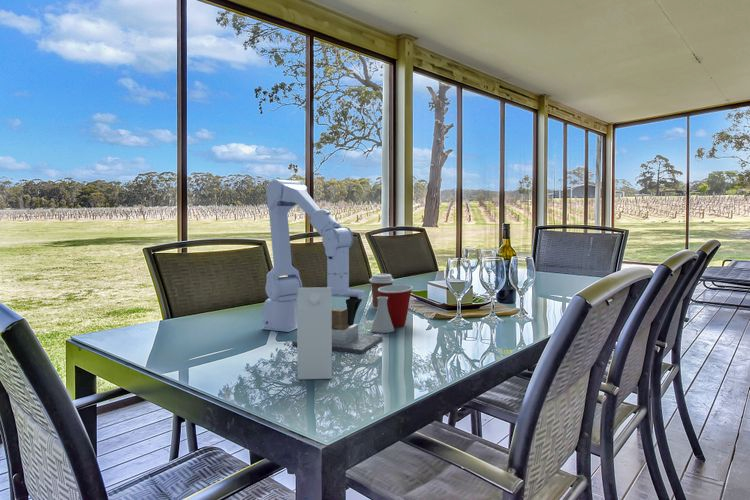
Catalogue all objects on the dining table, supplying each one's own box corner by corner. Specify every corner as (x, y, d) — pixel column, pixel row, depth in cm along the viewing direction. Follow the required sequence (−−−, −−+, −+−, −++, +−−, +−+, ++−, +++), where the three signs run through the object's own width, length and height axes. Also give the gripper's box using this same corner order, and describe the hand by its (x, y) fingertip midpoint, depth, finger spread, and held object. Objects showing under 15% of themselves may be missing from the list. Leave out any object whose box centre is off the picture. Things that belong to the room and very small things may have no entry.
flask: (392, 334, 144) (392, 300, 143) (367, 333, 145) (367, 299, 144) (396, 328, 151) (396, 295, 150) (372, 327, 152) (372, 294, 151)
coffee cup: (370, 305, 187) (370, 273, 186) (394, 305, 186) (395, 273, 185) (367, 309, 178) (367, 276, 177) (393, 310, 177) (393, 276, 176)
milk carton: (299, 369, 112) (299, 285, 110) (331, 368, 113) (331, 284, 111) (297, 380, 105) (296, 290, 103) (331, 379, 106) (331, 290, 104)
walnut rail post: (327, 340, 133) (327, 310, 133) (334, 336, 137) (334, 307, 136) (341, 341, 132) (341, 311, 131) (347, 338, 135) (347, 308, 135)
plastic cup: (372, 323, 158) (372, 285, 157) (402, 320, 162) (403, 283, 161) (386, 330, 148) (386, 290, 147) (418, 327, 152) (419, 288, 151)
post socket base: (292, 345, 132) (292, 328, 132) (318, 333, 145) (318, 317, 144) (361, 353, 124) (361, 335, 124) (382, 340, 137) (382, 324, 137)
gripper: (306, 273, 132) (306, 324, 133) (356, 276, 127) (356, 329, 128) (319, 270, 139) (319, 318, 140) (367, 273, 133) (367, 323, 134)
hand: (338, 323), depth 134 cm, fingers open, 7 cm apart
